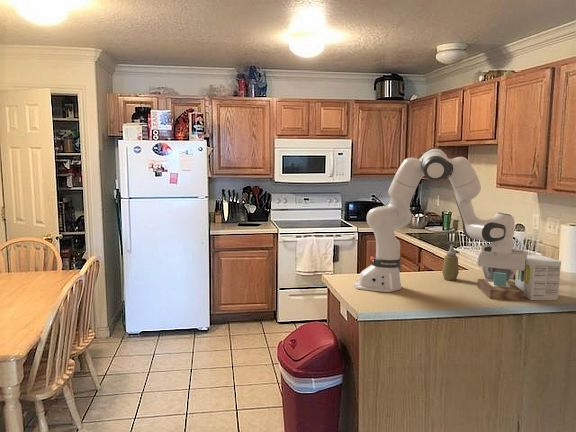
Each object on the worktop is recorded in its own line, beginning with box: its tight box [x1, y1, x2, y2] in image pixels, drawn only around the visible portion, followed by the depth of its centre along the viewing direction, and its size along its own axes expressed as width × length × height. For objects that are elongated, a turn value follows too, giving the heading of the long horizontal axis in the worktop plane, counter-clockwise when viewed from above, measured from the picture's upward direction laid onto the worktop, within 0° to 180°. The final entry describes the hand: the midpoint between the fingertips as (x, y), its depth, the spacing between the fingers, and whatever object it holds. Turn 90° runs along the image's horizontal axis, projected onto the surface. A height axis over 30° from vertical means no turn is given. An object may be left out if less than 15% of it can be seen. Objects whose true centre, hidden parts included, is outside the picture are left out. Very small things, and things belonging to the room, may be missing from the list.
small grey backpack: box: [482, 267, 511, 281], centre depth 238 cm, size 15×8×20 cm, turn 27°
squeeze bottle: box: [441, 244, 460, 281], centre depth 241 cm, size 8×8×18 cm
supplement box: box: [514, 255, 562, 301], centre depth 213 cm, size 13×13×18 cm
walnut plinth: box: [476, 278, 524, 301], centre depth 217 cm, size 14×20×4 cm
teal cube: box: [493, 272, 507, 286], centre depth 217 cm, size 5×5×5 cm
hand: (500, 277), depth 217 cm, fingers open, 8 cm apart
